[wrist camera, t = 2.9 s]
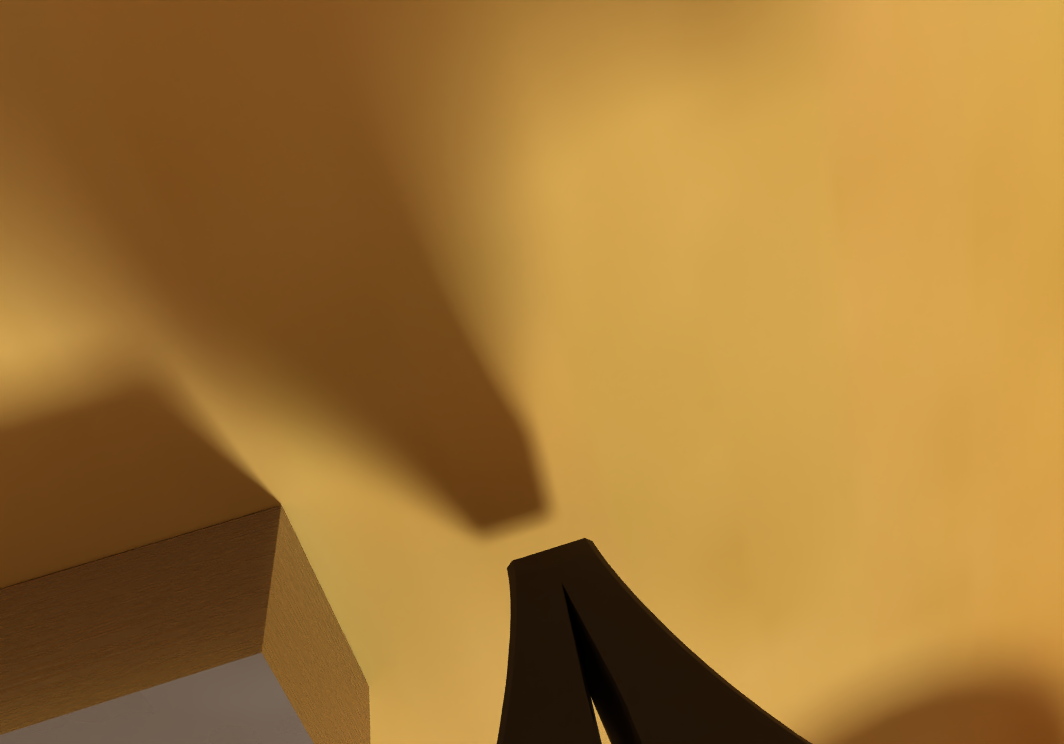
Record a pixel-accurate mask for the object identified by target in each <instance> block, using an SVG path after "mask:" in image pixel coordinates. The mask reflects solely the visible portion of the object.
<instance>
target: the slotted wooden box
mask: <svg viewBox="0 0 1064 744" xmlns="http://www.w3.org/2000/svg"><path fill="white" fill-rule="evenodd" d="M0 744H370V709H369V686H368V684H367V682H366V680H365V678H364V675H363V673H362V671H361V669H360V667H359V665H358V663H357V661H356V659H355V657H354V655H353V653H352V651H351V649H350V646H349V644H348V642H347V640H346V638H345V636H344V634H343V632H342V630H341V628H340V626H339V624H338V622H337V620H336V617H335V615H334V613H333V611H332V609H331V607H330V605H329V603H328V601H327V599H326V597H325V595H324V593H323V591H322V588H321V586H320V584H319V582H318V580H317V578H316V576H315V574H314V572H313V570H312V568H311V566H310V564H309V562H308V559H307V557H306V555H305V553H304V551H303V549H302V547H301V545H300V543H299V541H298V539H297V537H296V535H295V533H294V531H293V528H292V526H291V524H290V522H289V520H288V518H287V516H286V514H285V512H284V510H283V508H282V506H278V507H275V508H271V509H268V510H265V511H261V512H258V513H255V514H251V515H248V516H244V517H241V518H238V519H234V520H231V521H228V522H224V523H221V524H218V525H214V526H211V527H208V528H204V529H201V530H198V531H194V532H191V533H188V534H184V535H181V536H177V537H174V538H171V539H167V540H164V541H161V542H157V543H154V544H151V545H147V546H144V547H141V548H137V549H134V550H131V551H127V552H124V553H121V554H117V555H114V556H110V557H107V558H104V559H100V560H97V561H94V562H90V563H87V564H84V565H80V566H77V567H74V568H70V569H67V570H64V571H60V572H57V573H54V574H50V575H47V576H43V577H40V578H37V579H33V580H30V581H27V582H23V583H20V584H17V585H13V586H10V587H7V588H3V589H0Z"/></svg>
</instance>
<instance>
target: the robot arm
mask: <svg viewBox="0 0 1064 744" xmlns="http://www.w3.org/2000/svg"><path fill="white" fill-rule="evenodd" d="M507 571H508V577H509V584H510V599H511V621H510V643H509V655H508V668H507V679H506V687H505V694H504V701H503V708H502V715H501V721H500V728H499V734H498V740H497V744H602V743H601V739H600V734H599V730H598V726H597V722H596V717H595V713H594V709H593V704H592V700H593V703H594V705H595V707H596V710H597V712H598V714H599V717H600V719H601V721H602V724H603V726H604V728H605V730H606V733H607V735H608V737H609V740H610V742H611V744H812V743H810V742H808V741H807V740H805V739H804V738H802V737H801V736H799V735H798V734H796V733H795V732H794V731H792V730H791V729H789V728H788V727H787V726H785V725H784V724H782V723H781V722H780V721H778V720H777V719H775V718H774V717H773V716H771V715H770V714H769V713H767V712H766V711H764V710H763V709H762V708H760V707H759V706H758V705H757V704H755V703H754V702H753V701H751V700H750V699H749V698H747V697H746V696H745V695H744V694H742V693H741V692H740V691H738V690H737V689H736V688H735V687H733V686H732V685H731V684H730V683H728V682H727V681H726V680H725V679H724V678H722V677H721V676H720V675H719V674H718V673H716V672H715V671H714V670H713V669H712V668H711V667H709V666H708V665H707V664H706V663H705V662H704V661H703V660H701V659H700V658H699V657H698V656H697V655H696V654H695V653H694V652H692V651H691V650H690V649H689V648H688V647H687V646H686V645H685V644H684V643H683V642H681V641H680V640H679V639H678V638H677V637H676V636H675V635H674V634H673V633H672V632H671V631H670V630H669V629H668V628H667V627H666V626H665V625H664V624H663V623H662V622H661V621H660V620H659V619H658V618H657V617H656V616H655V615H654V614H653V613H652V612H651V611H650V610H649V609H648V608H647V607H646V606H645V605H644V604H643V603H642V602H641V601H640V600H639V599H638V598H637V596H636V595H635V594H634V593H633V592H632V591H631V590H630V589H629V588H628V586H627V585H626V584H625V583H624V582H623V581H622V580H621V578H620V577H619V576H618V575H617V574H616V573H615V571H614V570H613V569H612V568H611V566H610V565H609V564H608V563H607V561H606V560H605V559H604V557H603V556H602V555H601V553H600V552H599V550H598V549H597V548H596V546H595V544H594V543H593V541H590V540H588V539H586V538H583V539H580V540H577V541H574V542H571V543H567V544H564V545H561V546H558V547H555V548H551V549H548V550H545V551H542V552H539V553H536V554H532V555H529V556H526V557H523V558H520V559H516V560H513V561H512V562H511V563H510V565H509V566H508V567H507ZM591 698H592V700H591Z"/></svg>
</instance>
